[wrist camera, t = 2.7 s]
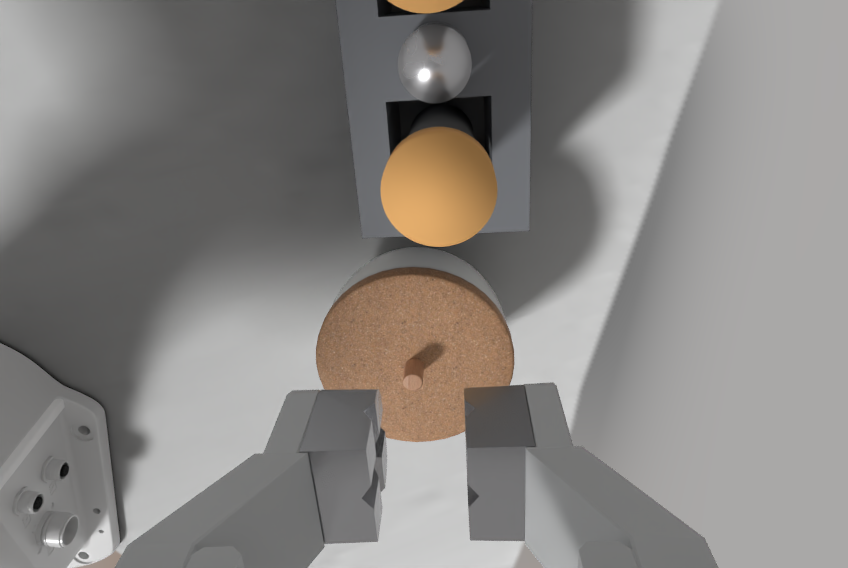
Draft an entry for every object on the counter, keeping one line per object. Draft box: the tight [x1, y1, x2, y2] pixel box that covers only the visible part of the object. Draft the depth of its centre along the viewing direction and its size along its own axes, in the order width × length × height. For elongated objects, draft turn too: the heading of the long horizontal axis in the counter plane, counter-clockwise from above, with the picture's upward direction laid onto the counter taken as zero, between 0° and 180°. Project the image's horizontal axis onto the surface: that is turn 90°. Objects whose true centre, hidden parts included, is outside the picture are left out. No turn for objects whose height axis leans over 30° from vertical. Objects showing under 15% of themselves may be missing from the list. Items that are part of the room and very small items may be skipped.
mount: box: [335, 0, 532, 238], centre depth 29 cm, size 16×8×8 cm, turn 4°
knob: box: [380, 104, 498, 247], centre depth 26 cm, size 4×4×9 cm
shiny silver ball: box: [398, 21, 472, 103], centre depth 25 cm, size 3×3×3 cm
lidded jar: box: [316, 247, 514, 442], centre depth 36 cm, size 11×11×9 cm
